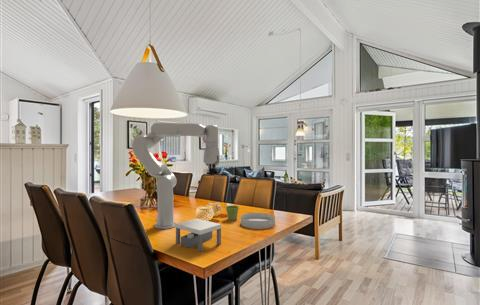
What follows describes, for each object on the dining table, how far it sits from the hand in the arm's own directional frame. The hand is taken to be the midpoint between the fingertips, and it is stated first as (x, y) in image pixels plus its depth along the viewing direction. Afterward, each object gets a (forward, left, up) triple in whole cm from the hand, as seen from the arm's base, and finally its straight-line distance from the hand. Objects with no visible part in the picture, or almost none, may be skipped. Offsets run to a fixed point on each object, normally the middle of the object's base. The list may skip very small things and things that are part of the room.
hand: (211, 174), depth 165 cm
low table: (+17, -26, -32) cm, 45 cm away
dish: (+18, +24, -33) cm, 44 cm away
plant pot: (-2, +22, -32) cm, 39 cm away
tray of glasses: (+14, -24, -32) cm, 42 cm away
